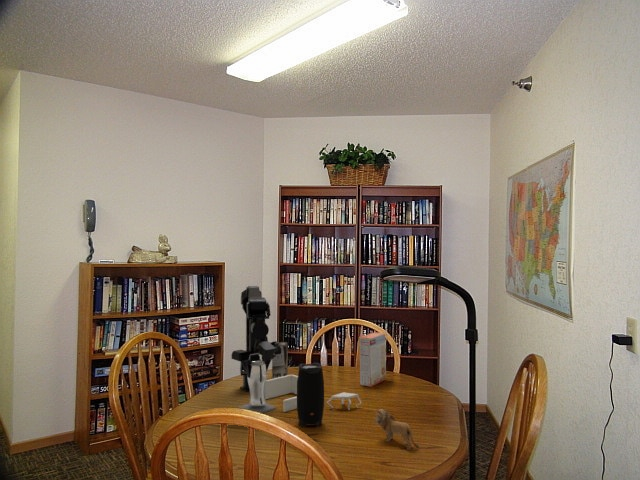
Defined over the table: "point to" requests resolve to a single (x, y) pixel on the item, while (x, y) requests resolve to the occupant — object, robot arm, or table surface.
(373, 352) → the cracker box
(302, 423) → the portable speaker
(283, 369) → the coffee box
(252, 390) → the beer glass
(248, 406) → the slate mat
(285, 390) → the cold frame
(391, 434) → the lion figurine
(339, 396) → the white legged piece
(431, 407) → the table surface
